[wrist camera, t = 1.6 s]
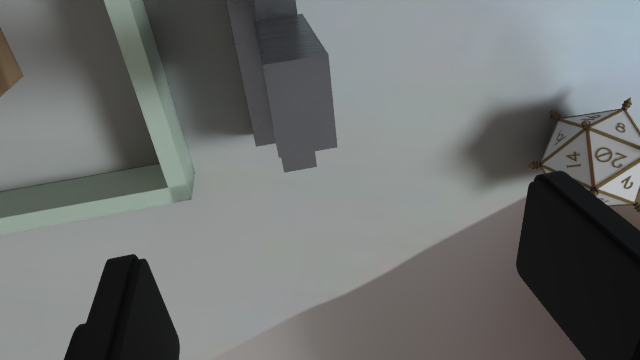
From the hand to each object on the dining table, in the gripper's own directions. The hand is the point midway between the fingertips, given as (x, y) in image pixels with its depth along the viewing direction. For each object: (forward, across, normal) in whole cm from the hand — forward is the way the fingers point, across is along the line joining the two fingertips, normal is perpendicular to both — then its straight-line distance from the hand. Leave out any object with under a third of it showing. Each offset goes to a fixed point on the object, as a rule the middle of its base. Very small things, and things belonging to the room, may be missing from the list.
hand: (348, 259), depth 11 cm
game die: (+22, -22, +11) cm, 33 cm away
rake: (+22, 0, 0) cm, 22 cm away
